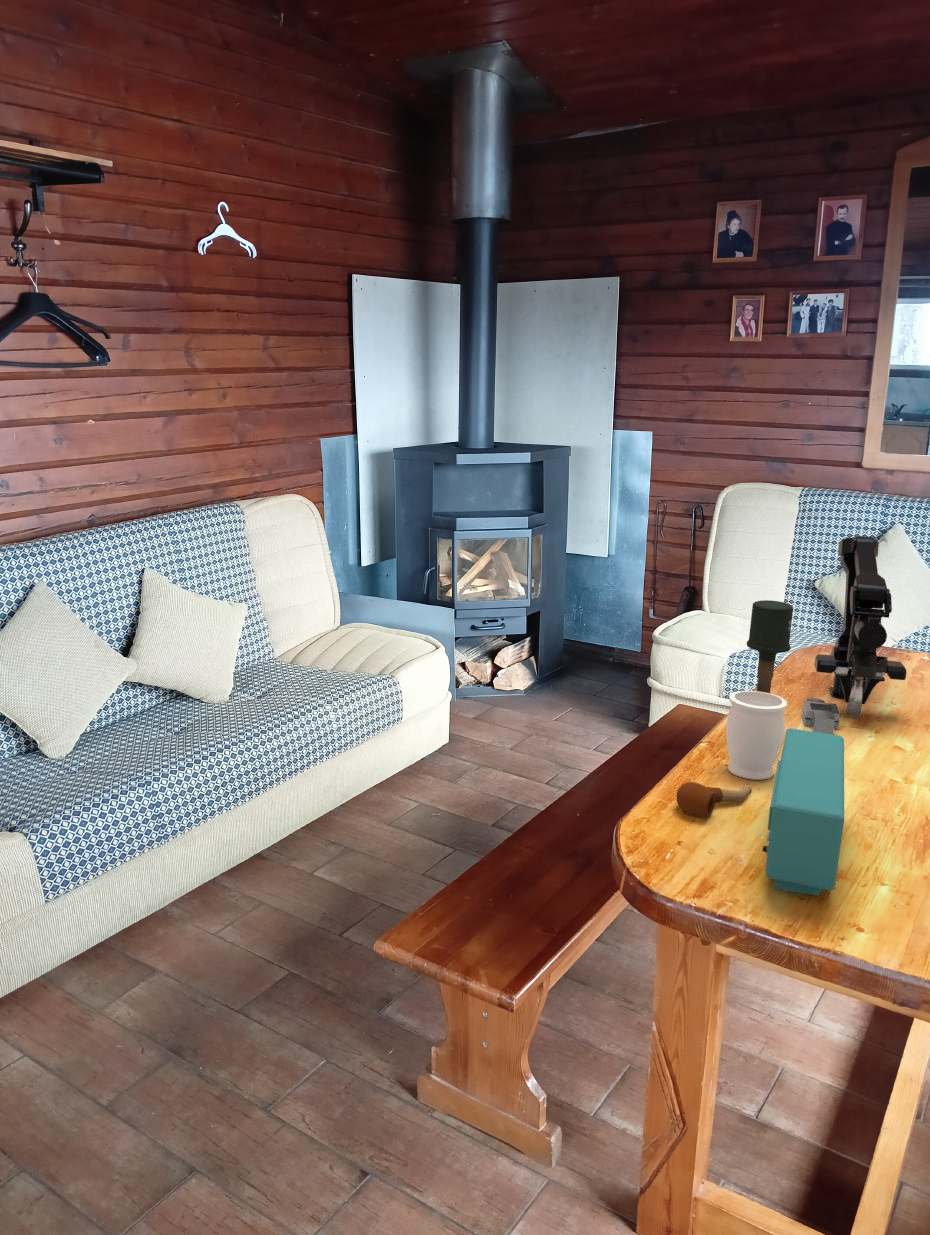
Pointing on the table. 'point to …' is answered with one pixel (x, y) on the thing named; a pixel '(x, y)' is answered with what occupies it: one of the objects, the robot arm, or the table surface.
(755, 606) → the potato masher grenade
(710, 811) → the smoking pipe
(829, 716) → the strap
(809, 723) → the lower strap
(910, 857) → the table surface
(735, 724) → the jar
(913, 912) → the table surface
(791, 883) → the radio
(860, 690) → the link pin
